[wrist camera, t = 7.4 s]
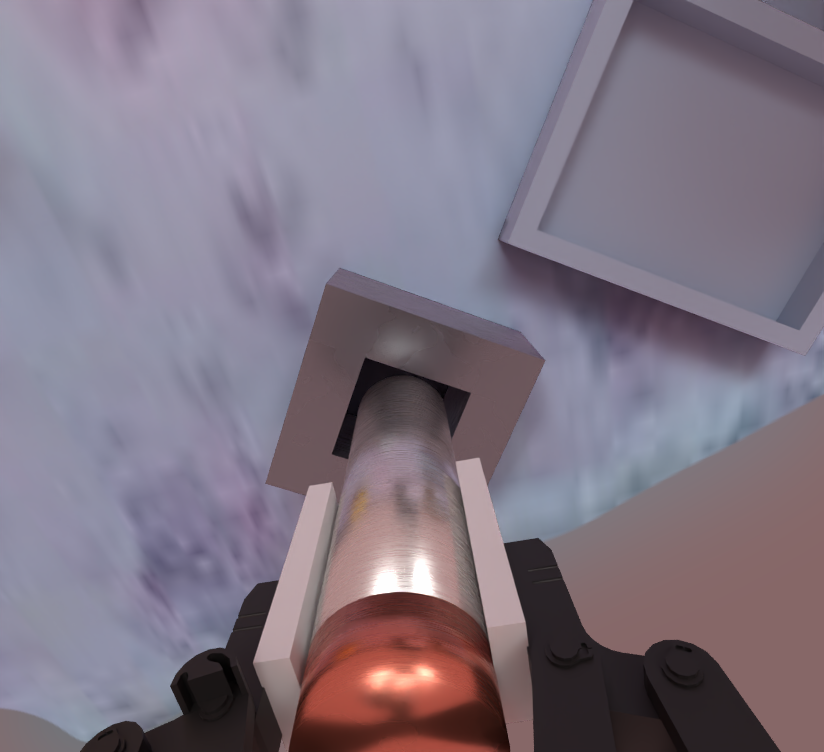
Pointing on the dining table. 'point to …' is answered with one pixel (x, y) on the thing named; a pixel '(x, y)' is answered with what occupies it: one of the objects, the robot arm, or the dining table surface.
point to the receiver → (407, 350)
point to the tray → (688, 163)
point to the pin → (400, 597)
